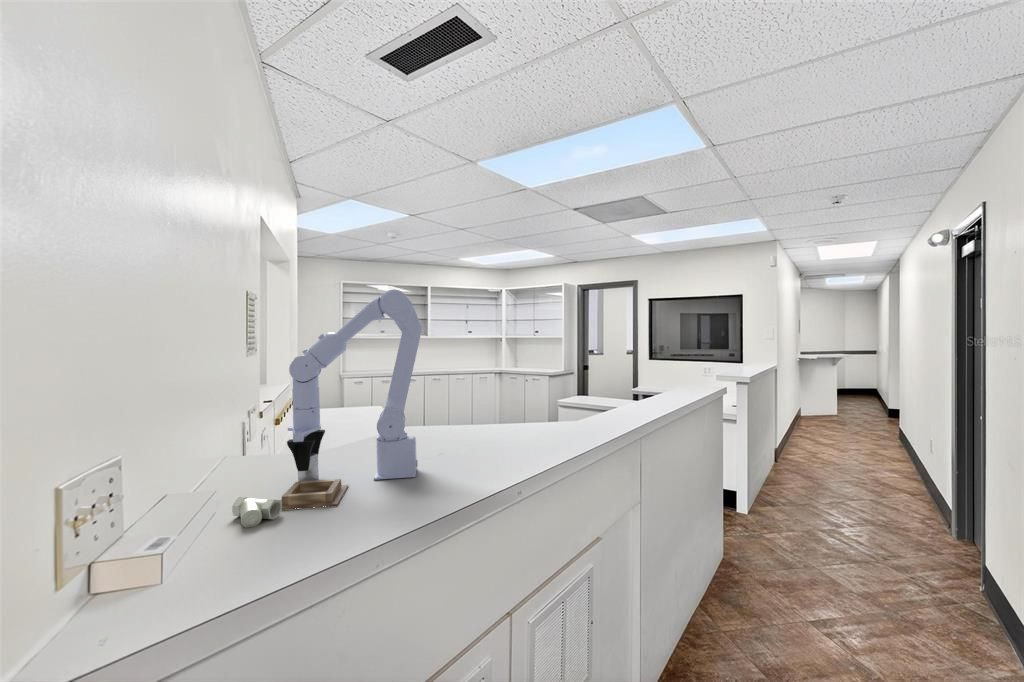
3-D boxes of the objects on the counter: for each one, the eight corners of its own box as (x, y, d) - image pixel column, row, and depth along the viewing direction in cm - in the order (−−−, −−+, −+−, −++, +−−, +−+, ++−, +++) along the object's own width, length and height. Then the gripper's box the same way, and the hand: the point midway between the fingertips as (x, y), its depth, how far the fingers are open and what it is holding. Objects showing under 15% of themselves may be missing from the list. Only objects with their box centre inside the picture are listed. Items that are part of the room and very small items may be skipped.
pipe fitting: (255, 533, 83) (282, 515, 89) (253, 512, 82) (280, 495, 89) (218, 529, 84) (247, 512, 91) (216, 508, 84) (245, 493, 91)
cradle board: (348, 489, 105) (348, 476, 105) (337, 508, 93) (337, 494, 93) (291, 493, 103) (291, 480, 103) (272, 513, 91) (272, 499, 91)
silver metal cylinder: (320, 477, 112) (320, 452, 112) (316, 483, 107) (315, 457, 107) (301, 479, 111) (300, 453, 111) (295, 485, 107) (295, 458, 107)
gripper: (297, 403, 115) (298, 458, 116) (277, 413, 101) (278, 476, 101) (327, 402, 116) (328, 456, 117) (312, 412, 102) (313, 474, 102)
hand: (307, 465), depth 109 cm, fingers open, 7 cm apart
